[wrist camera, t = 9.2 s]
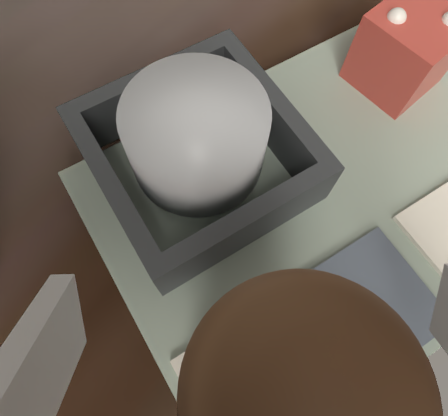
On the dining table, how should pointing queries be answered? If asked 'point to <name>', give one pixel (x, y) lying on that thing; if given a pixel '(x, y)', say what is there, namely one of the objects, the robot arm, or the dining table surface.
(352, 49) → the die
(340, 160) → the board
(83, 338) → the robot arm
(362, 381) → the pawn
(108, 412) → the dining table surface
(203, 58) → the dome
